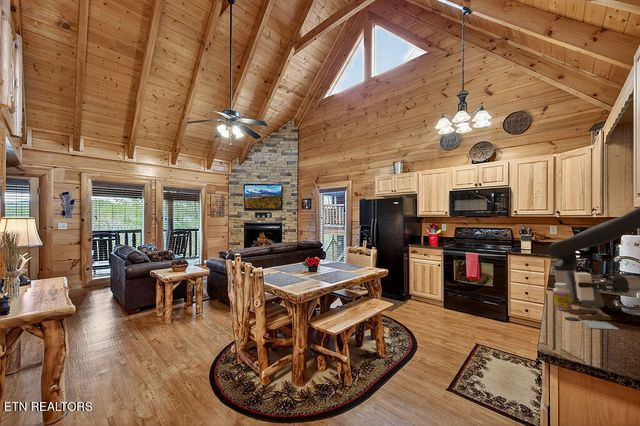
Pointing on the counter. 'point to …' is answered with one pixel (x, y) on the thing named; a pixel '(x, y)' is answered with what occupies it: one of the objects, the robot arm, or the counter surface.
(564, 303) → the supplement bottle
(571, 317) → the hole
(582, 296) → the block
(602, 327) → the tile
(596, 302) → the coffeepot
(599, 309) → the crook
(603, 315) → the corral
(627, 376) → the counter surface
